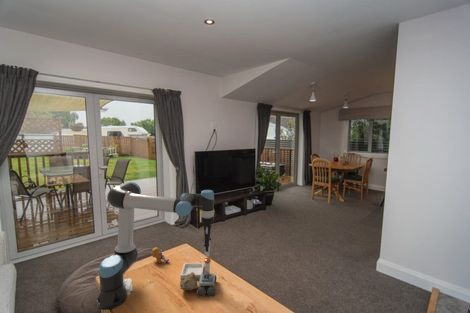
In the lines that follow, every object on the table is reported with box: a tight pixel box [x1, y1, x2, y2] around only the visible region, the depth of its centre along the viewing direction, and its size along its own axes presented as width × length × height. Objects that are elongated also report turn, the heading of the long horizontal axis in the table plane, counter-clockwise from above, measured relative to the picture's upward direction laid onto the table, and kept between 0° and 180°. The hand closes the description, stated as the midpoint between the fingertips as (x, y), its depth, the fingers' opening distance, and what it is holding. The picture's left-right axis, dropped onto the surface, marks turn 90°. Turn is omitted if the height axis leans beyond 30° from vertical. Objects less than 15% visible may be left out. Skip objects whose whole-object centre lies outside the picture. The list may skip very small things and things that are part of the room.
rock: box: [179, 272, 198, 291], centre depth 136 cm, size 12×10×10 cm
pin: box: [203, 257, 212, 279], centre depth 136 cm, size 4×4×12 cm
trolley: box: [196, 273, 217, 298], centre depth 137 cm, size 11×14×8 cm
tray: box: [179, 262, 205, 281], centre depth 152 cm, size 14×14×3 cm
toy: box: [150, 246, 170, 264], centre depth 164 cm, size 14×8×15 cm
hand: (207, 253), depth 135 cm, fingers open, 5 cm apart
